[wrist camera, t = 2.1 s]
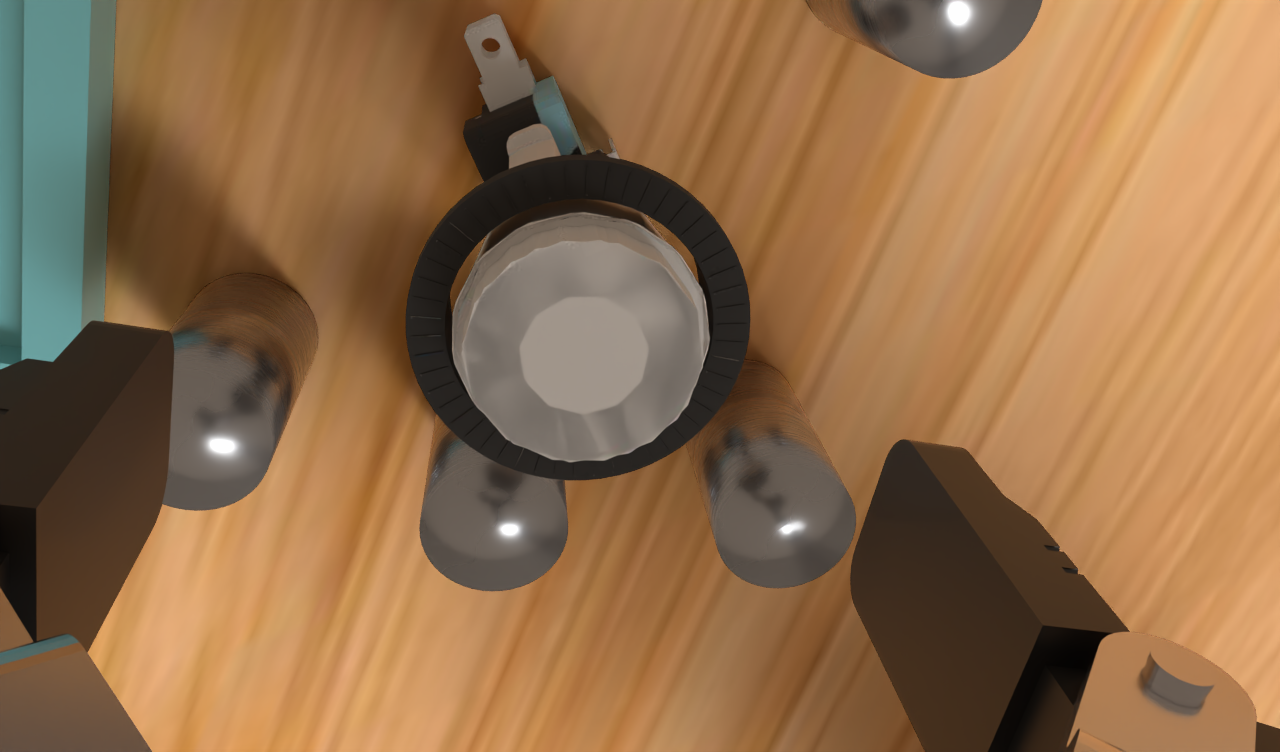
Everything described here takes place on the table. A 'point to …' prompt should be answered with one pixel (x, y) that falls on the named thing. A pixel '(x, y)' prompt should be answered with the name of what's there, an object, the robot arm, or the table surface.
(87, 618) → the robot arm
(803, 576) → the standoff cluster
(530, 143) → the push button
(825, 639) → the table surface
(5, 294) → the tray
